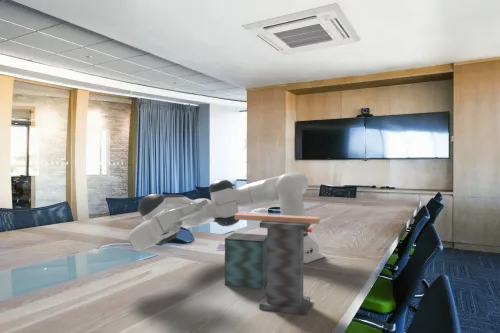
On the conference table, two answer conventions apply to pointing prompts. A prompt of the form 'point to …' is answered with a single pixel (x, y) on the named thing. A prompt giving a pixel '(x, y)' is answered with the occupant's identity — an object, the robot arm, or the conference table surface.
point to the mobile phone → (221, 247)
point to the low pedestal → (246, 260)
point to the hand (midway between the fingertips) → (201, 203)
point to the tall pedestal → (285, 268)
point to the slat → (277, 218)
